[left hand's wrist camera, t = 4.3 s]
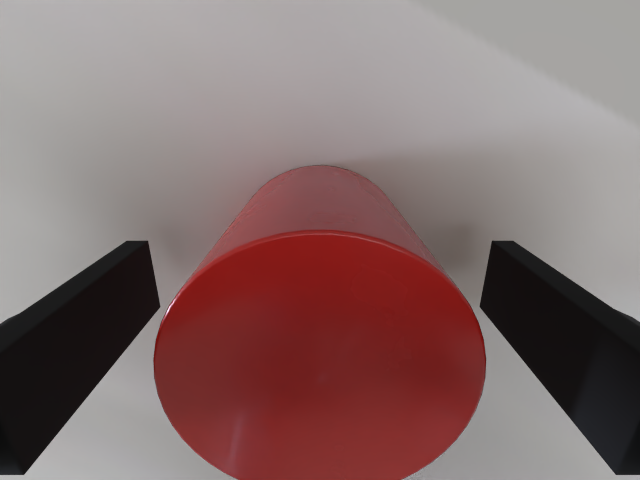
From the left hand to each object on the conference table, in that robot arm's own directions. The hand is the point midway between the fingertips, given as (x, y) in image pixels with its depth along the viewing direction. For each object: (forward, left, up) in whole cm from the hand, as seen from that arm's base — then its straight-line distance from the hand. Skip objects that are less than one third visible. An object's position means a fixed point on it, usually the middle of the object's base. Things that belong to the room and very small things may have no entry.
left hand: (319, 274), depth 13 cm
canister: (0, 0, -3) cm, 3 cm away
